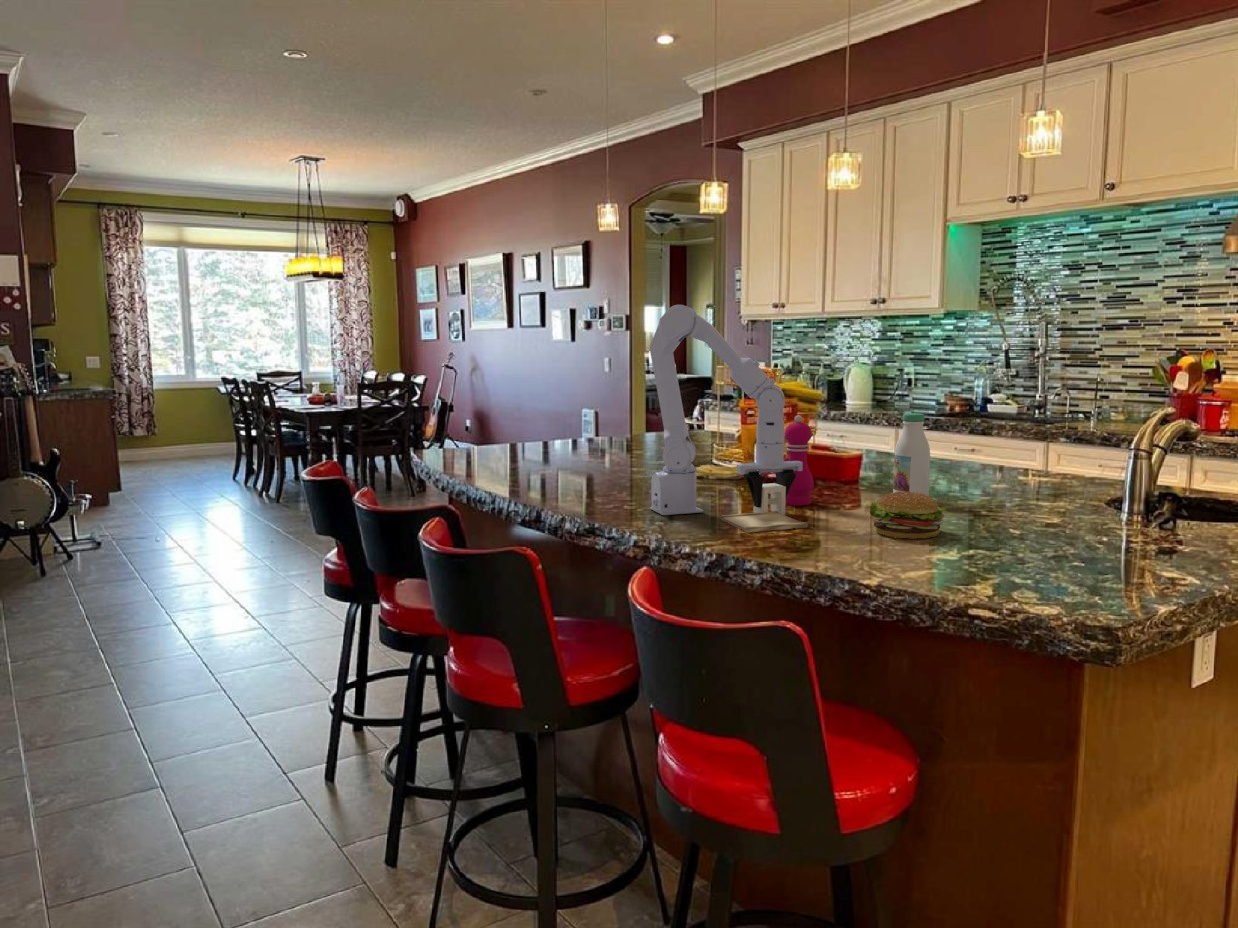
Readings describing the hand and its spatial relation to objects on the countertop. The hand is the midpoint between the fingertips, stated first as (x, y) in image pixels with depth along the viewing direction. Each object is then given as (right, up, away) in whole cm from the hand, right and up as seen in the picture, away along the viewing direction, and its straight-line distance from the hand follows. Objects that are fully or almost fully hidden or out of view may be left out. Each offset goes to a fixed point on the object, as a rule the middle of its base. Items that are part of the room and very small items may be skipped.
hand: (769, 505), depth 189 cm
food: (+23, -5, -20) cm, 31 cm away
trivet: (-3, -3, -10) cm, 11 cm away
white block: (0, -2, 0) cm, 2 cm away
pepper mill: (+8, 0, +11) cm, 14 cm away
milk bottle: (+34, 0, +12) cm, 36 cm away
